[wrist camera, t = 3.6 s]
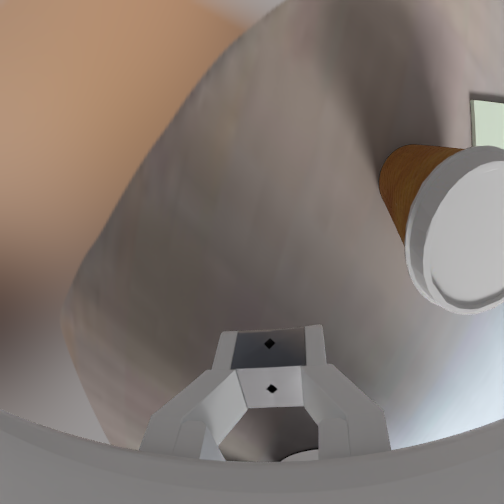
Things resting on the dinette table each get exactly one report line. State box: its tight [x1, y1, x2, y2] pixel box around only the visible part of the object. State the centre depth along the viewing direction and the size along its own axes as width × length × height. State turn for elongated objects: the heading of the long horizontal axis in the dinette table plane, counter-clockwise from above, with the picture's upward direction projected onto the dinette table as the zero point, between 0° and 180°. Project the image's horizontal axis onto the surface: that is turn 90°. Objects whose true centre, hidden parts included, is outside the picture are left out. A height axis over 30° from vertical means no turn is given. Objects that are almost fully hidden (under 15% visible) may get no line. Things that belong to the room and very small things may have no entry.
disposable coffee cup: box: [379, 144, 504, 315], centre depth 18 cm, size 10×10×12 cm
